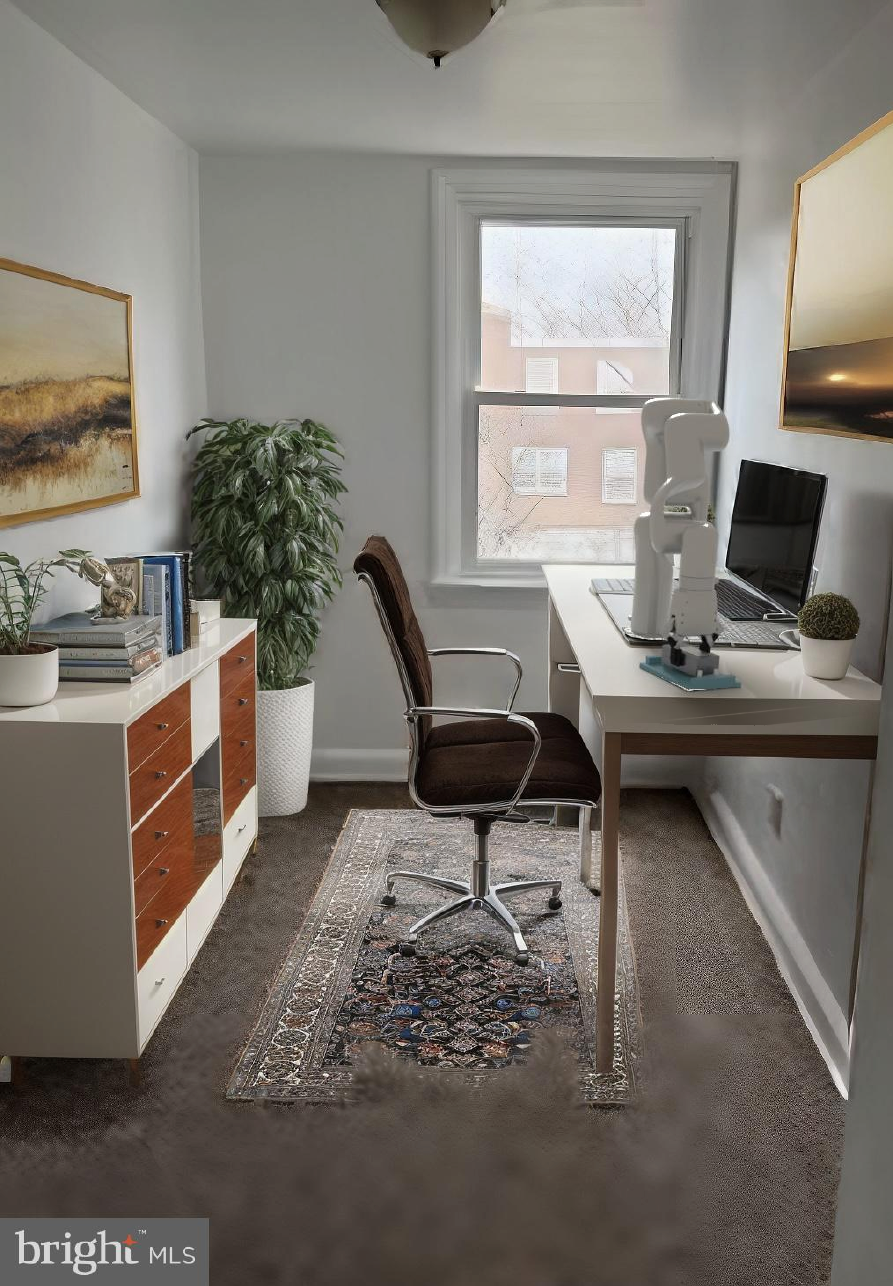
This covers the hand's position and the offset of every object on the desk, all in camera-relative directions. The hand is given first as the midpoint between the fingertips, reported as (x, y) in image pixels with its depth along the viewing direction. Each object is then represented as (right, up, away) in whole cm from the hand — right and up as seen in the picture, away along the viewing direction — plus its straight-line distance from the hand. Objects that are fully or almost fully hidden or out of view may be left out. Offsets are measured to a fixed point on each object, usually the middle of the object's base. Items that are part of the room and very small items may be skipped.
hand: (689, 663), depth 227 cm
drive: (0, -1, 0) cm, 1 cm away
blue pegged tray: (0, -3, +1) cm, 3 cm away
